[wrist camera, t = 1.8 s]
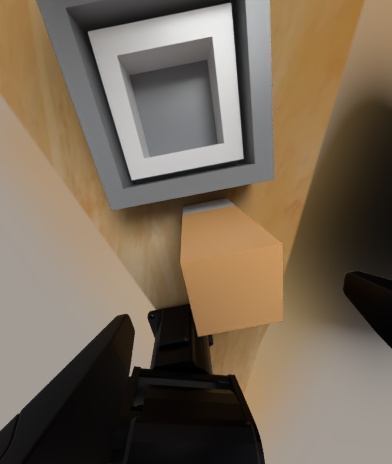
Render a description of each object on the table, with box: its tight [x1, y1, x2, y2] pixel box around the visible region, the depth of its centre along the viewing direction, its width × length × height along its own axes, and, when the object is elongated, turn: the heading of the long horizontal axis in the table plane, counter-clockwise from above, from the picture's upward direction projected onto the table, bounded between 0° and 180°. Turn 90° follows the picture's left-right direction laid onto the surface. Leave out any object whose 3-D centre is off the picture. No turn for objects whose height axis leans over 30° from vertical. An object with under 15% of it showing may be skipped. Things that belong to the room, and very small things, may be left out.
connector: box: [180, 198, 283, 337], centre depth 12 cm, size 4×4×10 cm
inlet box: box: [36, 0, 274, 211], centre depth 12 cm, size 11×11×4 cm
